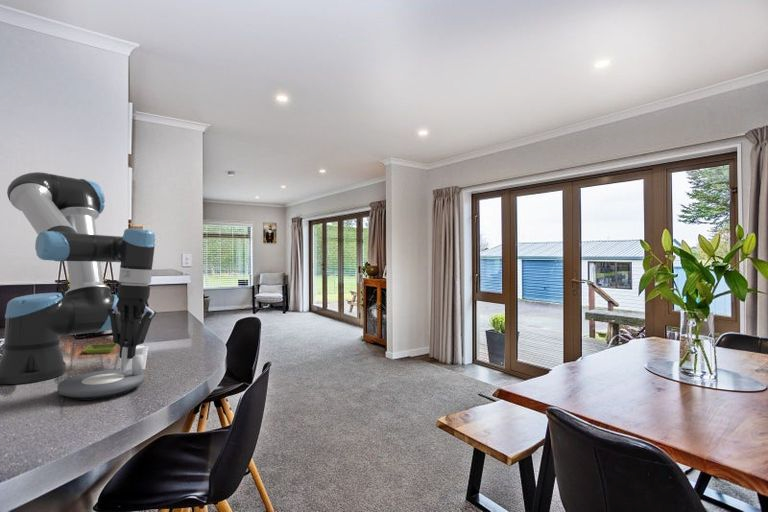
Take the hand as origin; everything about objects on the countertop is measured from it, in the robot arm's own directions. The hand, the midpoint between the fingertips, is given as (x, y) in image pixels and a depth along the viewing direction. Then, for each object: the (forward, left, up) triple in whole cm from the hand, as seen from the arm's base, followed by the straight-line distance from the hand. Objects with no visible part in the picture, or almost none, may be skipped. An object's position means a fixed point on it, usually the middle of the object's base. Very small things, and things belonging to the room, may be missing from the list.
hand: (125, 370), depth 103 cm
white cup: (-8, +14, -4) cm, 17 cm away
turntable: (-2, -5, -3) cm, 6 cm away
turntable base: (-2, -5, -4) cm, 7 cm away
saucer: (-35, +32, -5) cm, 48 cm away
